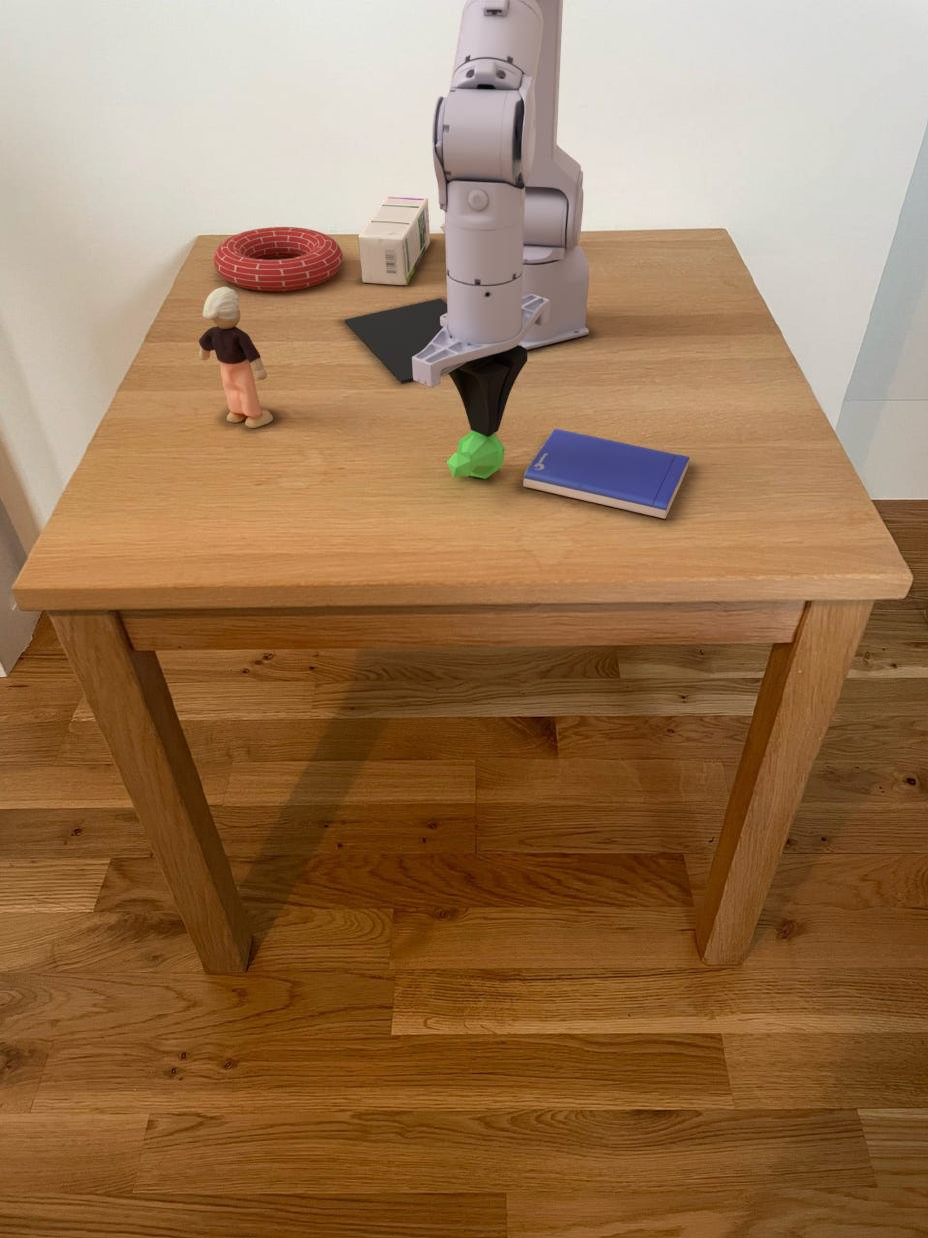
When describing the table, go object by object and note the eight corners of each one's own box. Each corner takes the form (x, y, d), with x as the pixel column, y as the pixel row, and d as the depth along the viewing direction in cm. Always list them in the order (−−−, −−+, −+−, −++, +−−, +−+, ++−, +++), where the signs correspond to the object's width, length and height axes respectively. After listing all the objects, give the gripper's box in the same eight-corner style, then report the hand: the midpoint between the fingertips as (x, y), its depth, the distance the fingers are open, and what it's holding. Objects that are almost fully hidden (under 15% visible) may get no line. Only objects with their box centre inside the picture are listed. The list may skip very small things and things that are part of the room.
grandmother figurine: (290, 413, 88) (269, 284, 80) (271, 433, 86) (247, 302, 77) (220, 401, 90) (192, 274, 82) (200, 420, 88) (168, 291, 79)
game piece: (466, 481, 81) (440, 498, 76) (453, 433, 80) (426, 447, 75) (510, 472, 79) (487, 488, 74) (498, 423, 78) (473, 436, 73)
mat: (440, 300, 107) (440, 297, 107) (505, 357, 96) (505, 354, 96) (344, 322, 103) (344, 319, 103) (401, 383, 93) (401, 380, 92)
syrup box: (404, 238, 106) (431, 196, 117) (355, 235, 107) (386, 194, 117) (407, 286, 110) (433, 241, 120) (359, 283, 111) (389, 239, 121)
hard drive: (523, 473, 78) (667, 505, 74) (555, 426, 83) (690, 454, 79) (522, 488, 79) (664, 521, 75) (554, 441, 84) (687, 469, 80)
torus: (195, 288, 111) (188, 258, 108) (249, 245, 121) (244, 217, 118) (315, 302, 107) (311, 272, 105) (361, 257, 117) (358, 228, 114)
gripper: (503, 230, 74) (501, 382, 83) (377, 287, 66) (390, 449, 75) (574, 251, 71) (564, 407, 80) (450, 314, 63) (455, 480, 72)
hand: (484, 430), depth 77 cm, fingers closed
